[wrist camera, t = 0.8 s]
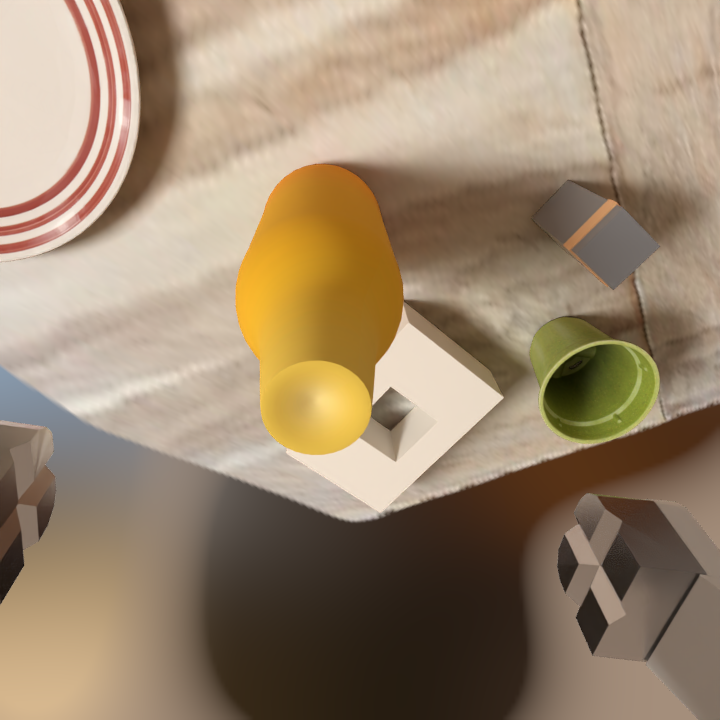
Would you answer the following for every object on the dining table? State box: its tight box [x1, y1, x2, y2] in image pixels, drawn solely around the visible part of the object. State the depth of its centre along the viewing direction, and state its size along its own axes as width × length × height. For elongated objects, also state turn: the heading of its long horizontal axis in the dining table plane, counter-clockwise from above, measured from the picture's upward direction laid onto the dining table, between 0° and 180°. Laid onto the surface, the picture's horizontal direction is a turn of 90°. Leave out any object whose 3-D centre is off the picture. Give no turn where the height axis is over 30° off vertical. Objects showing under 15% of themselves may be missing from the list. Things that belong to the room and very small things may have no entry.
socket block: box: [286, 302, 504, 513], centre depth 53 cm, size 16×11×5 cm
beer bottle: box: [236, 164, 404, 455], centre depth 35 cm, size 9×9×29 cm
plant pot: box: [530, 317, 660, 444], centre depth 50 cm, size 9×9×9 cm
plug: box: [531, 180, 660, 290], centre depth 44 cm, size 4×4×10 cm
